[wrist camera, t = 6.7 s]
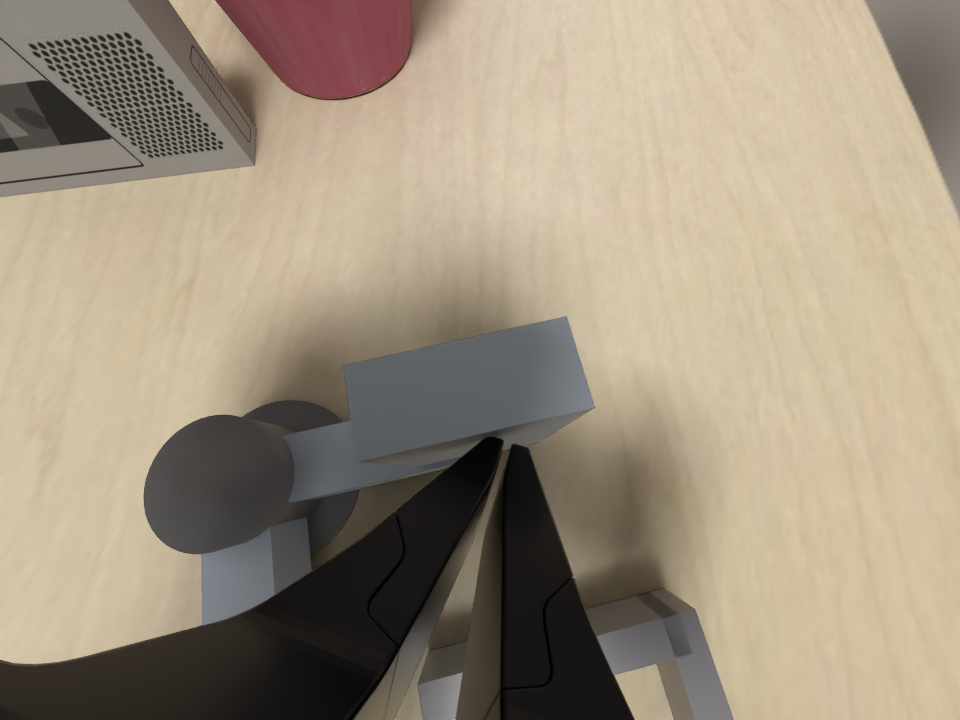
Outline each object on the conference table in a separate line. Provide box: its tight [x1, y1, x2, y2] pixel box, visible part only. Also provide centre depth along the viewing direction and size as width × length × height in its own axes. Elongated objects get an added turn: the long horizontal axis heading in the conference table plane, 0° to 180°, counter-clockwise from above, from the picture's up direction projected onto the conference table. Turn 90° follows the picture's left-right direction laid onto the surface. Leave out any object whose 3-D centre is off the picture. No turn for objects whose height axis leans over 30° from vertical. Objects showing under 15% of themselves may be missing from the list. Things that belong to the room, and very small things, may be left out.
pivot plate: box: [242, 401, 359, 555], centre depth 17 cm, size 7×7×1 cm
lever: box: [144, 316, 595, 625], centre depth 10 cm, size 17×14×10 cm
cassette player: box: [0, 0, 256, 197], centre depth 18 cm, size 16×3×10 cm, turn 97°
